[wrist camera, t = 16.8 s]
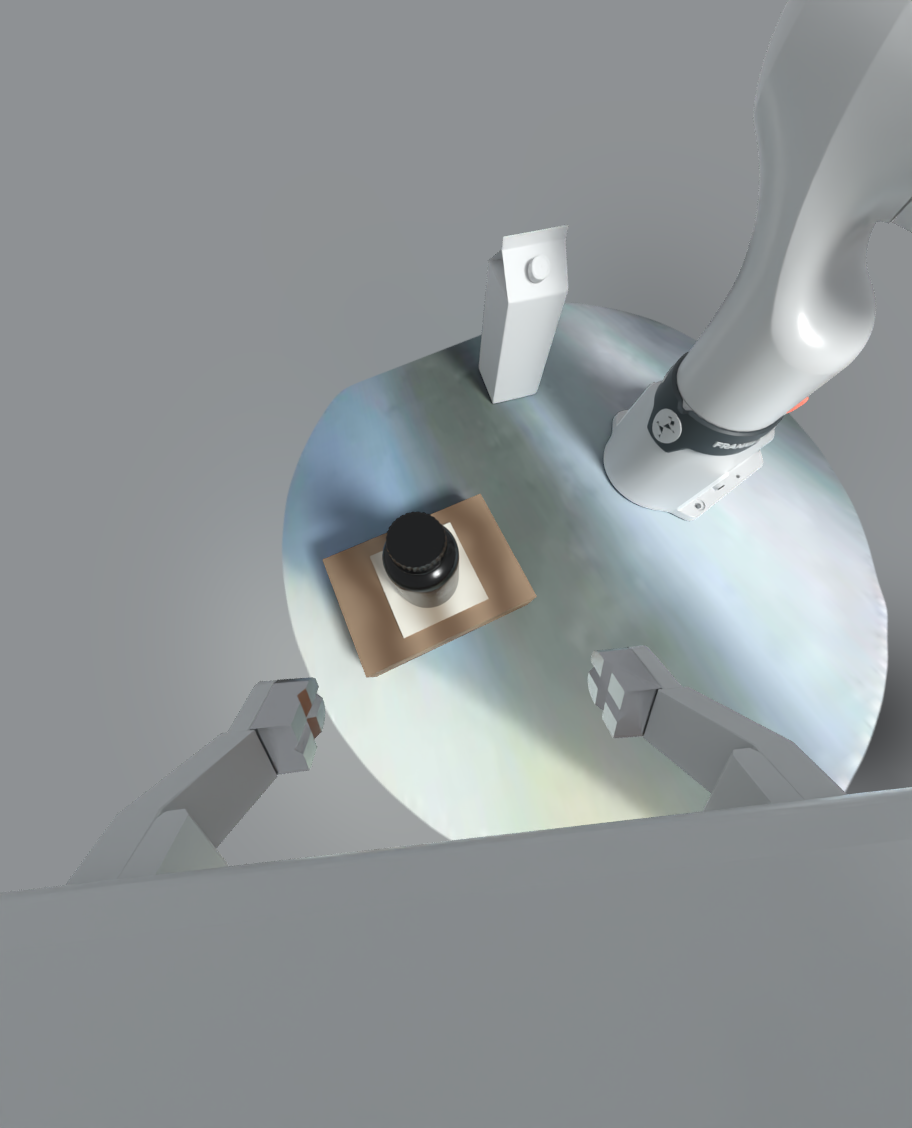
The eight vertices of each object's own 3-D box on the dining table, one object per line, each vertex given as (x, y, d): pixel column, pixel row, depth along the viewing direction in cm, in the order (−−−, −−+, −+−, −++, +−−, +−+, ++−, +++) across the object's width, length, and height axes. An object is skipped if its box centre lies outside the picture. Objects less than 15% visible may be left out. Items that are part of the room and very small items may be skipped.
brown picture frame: (477, 511, 46) (480, 492, 41) (527, 604, 43) (537, 595, 38) (336, 571, 44) (321, 558, 38) (376, 676, 40) (365, 677, 35)
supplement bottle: (448, 542, 39) (447, 490, 28) (466, 599, 37) (472, 567, 26) (390, 558, 39) (364, 511, 27) (404, 617, 37) (383, 592, 25)
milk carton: (478, 369, 54) (492, 215, 36) (520, 359, 54) (555, 204, 36) (492, 404, 52) (515, 261, 34) (536, 394, 52) (581, 248, 34)
